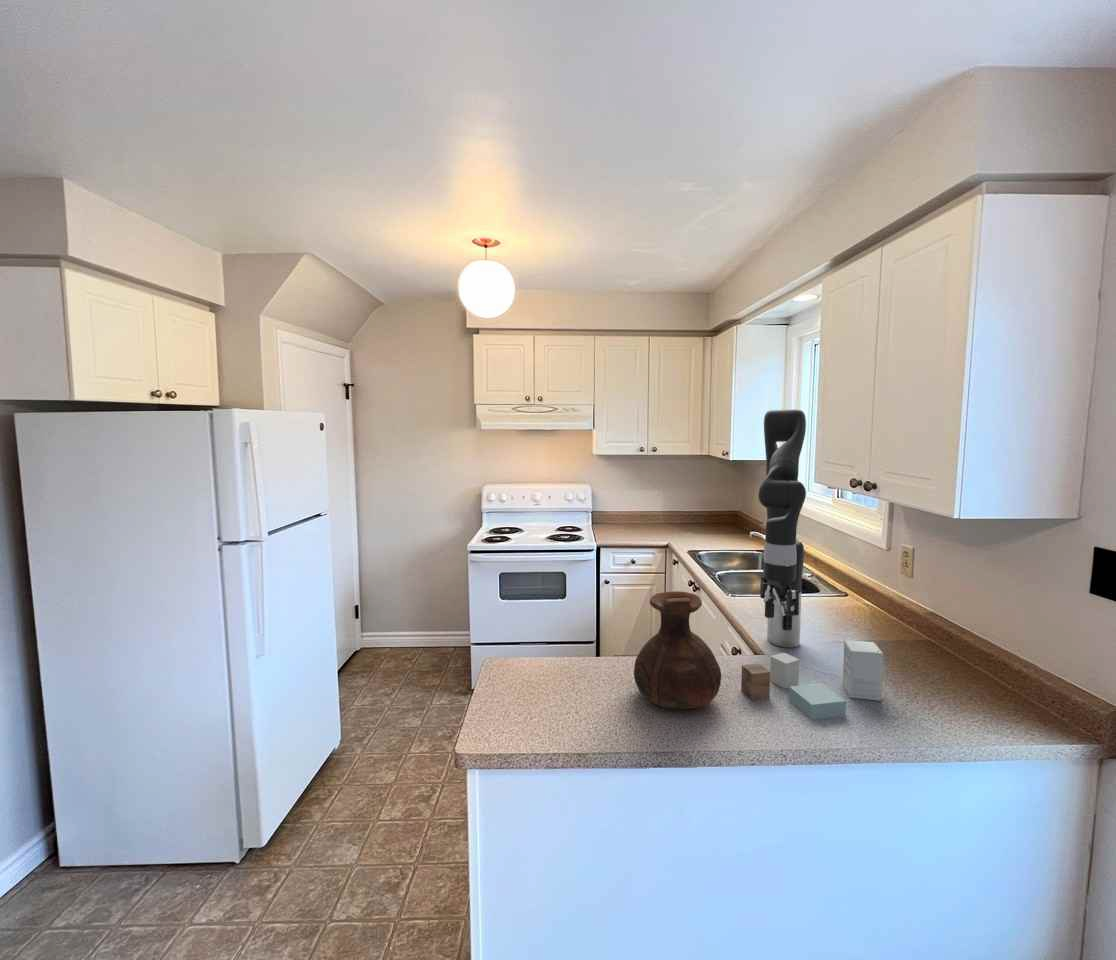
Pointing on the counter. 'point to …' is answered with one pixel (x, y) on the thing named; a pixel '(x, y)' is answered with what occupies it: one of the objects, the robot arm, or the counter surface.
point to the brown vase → (677, 657)
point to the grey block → (784, 670)
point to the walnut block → (755, 681)
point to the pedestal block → (817, 701)
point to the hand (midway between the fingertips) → (777, 623)
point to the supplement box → (862, 670)
